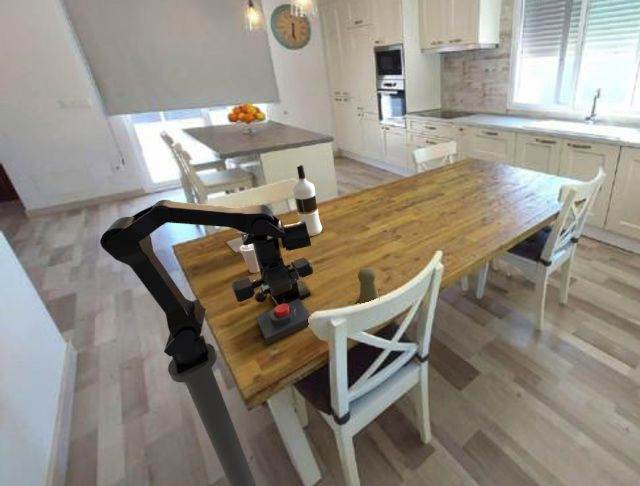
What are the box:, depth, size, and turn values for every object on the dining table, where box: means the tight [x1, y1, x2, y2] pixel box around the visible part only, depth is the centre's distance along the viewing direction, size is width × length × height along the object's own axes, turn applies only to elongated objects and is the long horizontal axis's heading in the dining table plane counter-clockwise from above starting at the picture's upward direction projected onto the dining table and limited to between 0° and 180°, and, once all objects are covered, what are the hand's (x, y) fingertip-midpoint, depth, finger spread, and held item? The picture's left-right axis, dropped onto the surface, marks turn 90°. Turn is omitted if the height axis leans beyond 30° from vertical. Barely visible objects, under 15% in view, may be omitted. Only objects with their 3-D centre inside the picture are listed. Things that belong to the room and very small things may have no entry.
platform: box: [225, 230, 248, 253], centre depth 133 cm, size 12×18×7 cm, turn 136°
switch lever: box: [254, 290, 268, 303], centre depth 96 cm, size 12×3×3 cm, turn 128°
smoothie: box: [239, 235, 260, 274], centre depth 110 cm, size 6×6×14 cm
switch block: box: [255, 299, 311, 345], centre depth 88 cm, size 12×10×4 cm
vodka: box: [292, 164, 323, 237], centre depth 133 cm, size 9×9×30 cm
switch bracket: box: [269, 263, 311, 307], centre depth 98 cm, size 10×8×10 cm
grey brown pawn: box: [357, 266, 380, 305], centre depth 95 cm, size 6×6×11 cm
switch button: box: [274, 304, 290, 317], centre depth 87 cm, size 4×4×2 cm
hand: (280, 303), depth 87 cm, fingers closed
